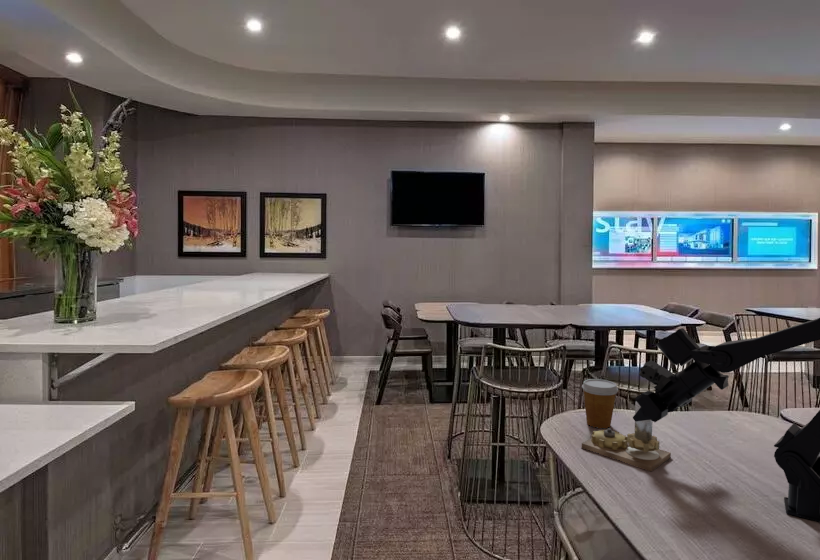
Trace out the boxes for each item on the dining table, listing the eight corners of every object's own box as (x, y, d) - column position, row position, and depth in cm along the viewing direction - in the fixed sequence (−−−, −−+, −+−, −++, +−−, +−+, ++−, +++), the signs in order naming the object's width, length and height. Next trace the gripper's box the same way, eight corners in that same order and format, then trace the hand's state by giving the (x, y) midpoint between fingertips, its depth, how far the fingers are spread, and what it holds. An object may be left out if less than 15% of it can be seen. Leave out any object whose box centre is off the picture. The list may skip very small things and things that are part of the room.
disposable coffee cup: (599, 416, 144) (600, 377, 143) (624, 428, 135) (625, 386, 134) (573, 421, 140) (574, 380, 139) (597, 433, 131) (598, 389, 130)
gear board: (670, 457, 116) (671, 438, 116) (651, 471, 109) (652, 451, 109) (602, 436, 129) (603, 419, 129) (581, 447, 122) (582, 429, 121)
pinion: (661, 453, 112) (663, 408, 111) (630, 450, 113) (632, 406, 112) (654, 441, 118) (655, 399, 117) (625, 438, 120) (626, 397, 119)
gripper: (679, 346, 117) (632, 381, 126) (646, 358, 105) (596, 396, 114) (714, 385, 112) (663, 419, 121) (684, 403, 100) (629, 439, 109)
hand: (638, 417), depth 116 cm, fingers closed on pinion, 4 cm apart
